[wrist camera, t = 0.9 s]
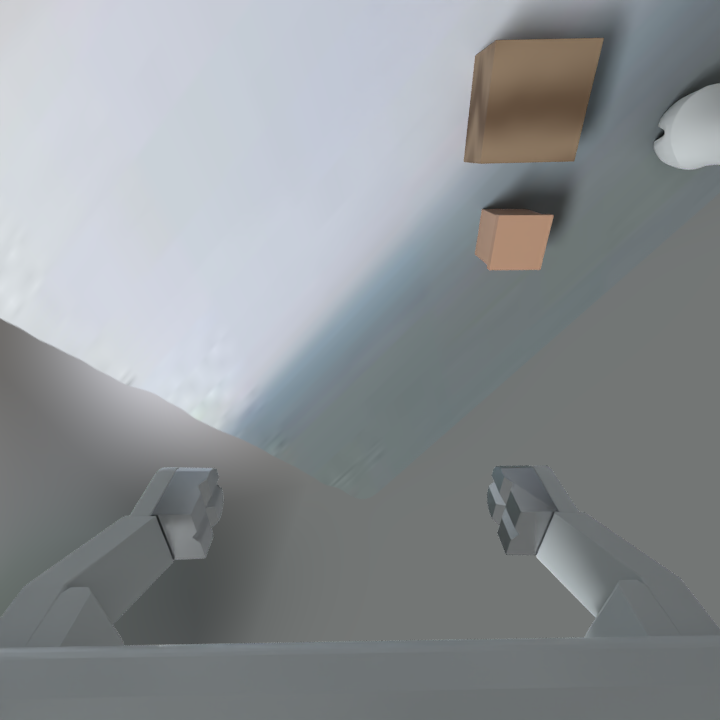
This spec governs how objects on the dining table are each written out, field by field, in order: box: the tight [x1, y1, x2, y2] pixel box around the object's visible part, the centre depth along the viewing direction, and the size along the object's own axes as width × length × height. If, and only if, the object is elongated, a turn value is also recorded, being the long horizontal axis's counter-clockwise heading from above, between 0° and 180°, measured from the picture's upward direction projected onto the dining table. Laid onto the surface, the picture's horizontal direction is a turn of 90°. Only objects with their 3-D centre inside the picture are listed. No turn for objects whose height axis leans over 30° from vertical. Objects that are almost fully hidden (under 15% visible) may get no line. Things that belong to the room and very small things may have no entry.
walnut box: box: [464, 38, 604, 164], centre depth 35 cm, size 9×9×6 cm
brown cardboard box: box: [475, 209, 554, 270], centre depth 41 cm, size 6×6×6 cm
